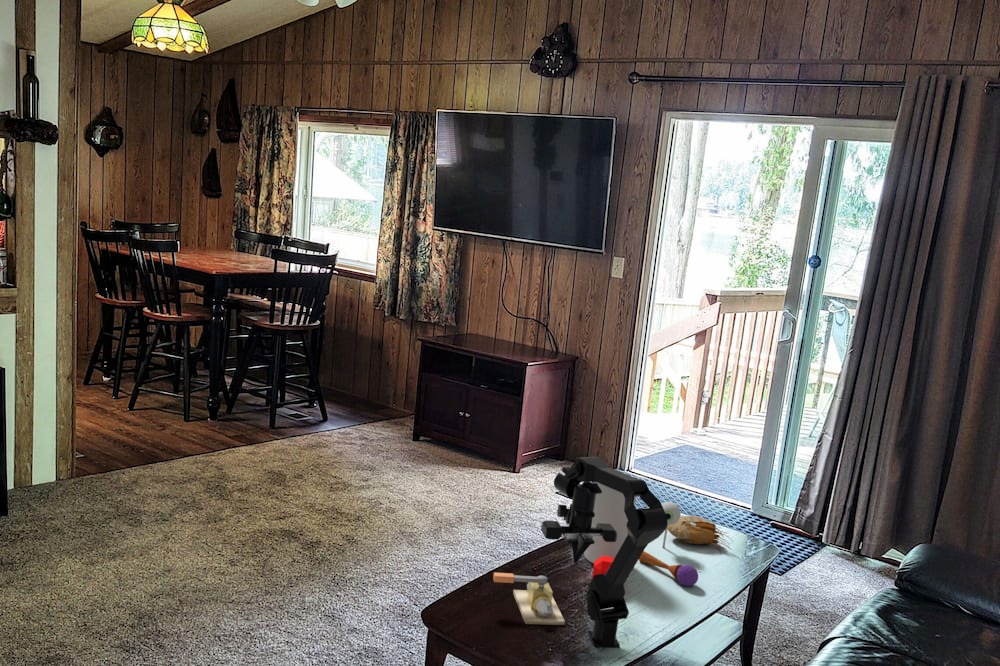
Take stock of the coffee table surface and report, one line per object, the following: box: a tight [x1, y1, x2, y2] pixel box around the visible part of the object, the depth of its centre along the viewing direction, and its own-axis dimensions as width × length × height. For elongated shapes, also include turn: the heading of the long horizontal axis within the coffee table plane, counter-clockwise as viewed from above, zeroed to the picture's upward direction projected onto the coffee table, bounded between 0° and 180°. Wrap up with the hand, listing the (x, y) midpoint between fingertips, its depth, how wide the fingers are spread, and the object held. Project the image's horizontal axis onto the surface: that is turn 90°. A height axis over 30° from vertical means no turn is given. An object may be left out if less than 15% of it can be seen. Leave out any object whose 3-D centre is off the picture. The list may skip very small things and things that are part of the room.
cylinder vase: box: [583, 482, 637, 564], centre depth 256 cm, size 12×12×25 cm
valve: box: [526, 582, 554, 619], centre depth 221 cm, size 14×5×6 cm, turn 10°
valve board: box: [512, 589, 566, 626], centre depth 221 cm, size 16×10×1 cm, turn 10°
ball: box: [591, 556, 614, 580], centre depth 240 cm, size 8×8×8 cm
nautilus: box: [667, 515, 733, 553], centre depth 279 cm, size 8×22×15 cm
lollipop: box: [661, 501, 682, 549], centre depth 272 cm, size 7×7×15 cm
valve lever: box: [492, 572, 548, 585], centre depth 219 cm, size 14×3×2 cm, turn 98°
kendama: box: [638, 550, 699, 588], centre depth 252 cm, size 6×6×20 cm
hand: (574, 562), depth 221 cm, fingers closed
